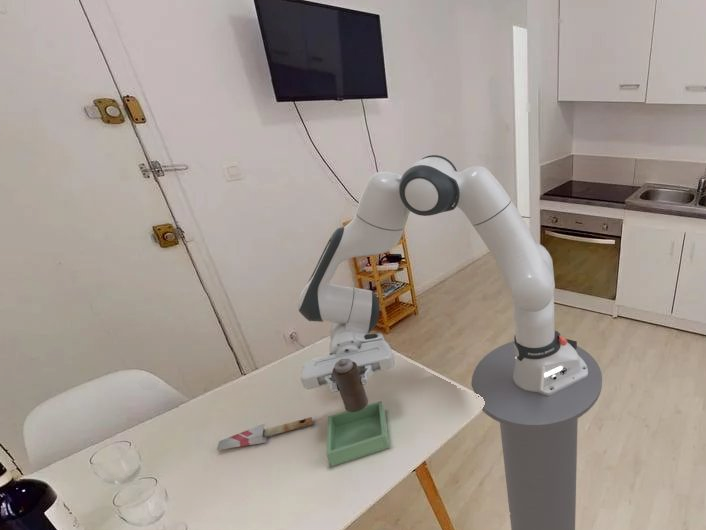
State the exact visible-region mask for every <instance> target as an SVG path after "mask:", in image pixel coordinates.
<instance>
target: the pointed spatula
mask: <svg viewBox="0 0 706 530" xmlns="http://www.w3.org/2000/svg"><path fill="white" fill-rule="evenodd" d="M313 423H314V421H313V417H312V416H309V417H306V418H303V419H298V420H295V421H292V422H287V423H283V424H280V425H275V426H272V427H268V428H265V423H263V424H260V425H257V426H254V427H252V428H250V429H247V430H245V431H242V432H239V433H236V434H235V435H234V434H233V435H232V436H229V437H227V438H224V439H221V440H218V442H217V446H216V451H219V450H226V449H231V448H239V447H245V446H252V445H258V444H266V443H267V440H268V437H271V436H274V435H277V434H281V433H285V432H288V431H292V430H296V429H300V428H303V427H308V426H312V425H313Z"/></svg>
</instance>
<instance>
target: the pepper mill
mask: <svg viewBox="0 0 706 530" xmlns="http://www.w3.org/2000/svg"><path fill="white" fill-rule="evenodd" d="M332 372H333V375H334V378H335V381H336V384H337V386H338V389H339V391H338V392H339V394H340V398H341V401H342V403H343V406H344V410H345V411H348V412H358V411H360V410H362V409H364V408H365V407H366V406H367V405H369V404H368V403H369V400H368V399H369V398H368V396H367V393H366V390H365V387H364V386H365V385H362V382H361V377H360V374H359V370H358V367H357V364H356V363H355V362H353V361H352V360H350V359H340V360H339V361H338V362H337V363H336V364H335V365H334V368H333V371H332Z"/></svg>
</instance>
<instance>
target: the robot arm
mask: <svg viewBox="0 0 706 530" xmlns="http://www.w3.org/2000/svg"><path fill="white" fill-rule="evenodd" d="M456 208H458V209H459V210H461V211H462V213H463V214H464V215H465V216H466V218H467V219H468V221H469V223H470V224H471V226H472V227H473V228H474V230H475V231H476V233H477V234H478V235H479V237H480V239H481V240H482V241H483V243H484V245H485V246H486V248H487V249H488V251H489V252H490V254H491V256H492V258H493V260H494V262H495V264H496V266H497V268H498V271H499V273H500V275H501V276H502V278H503V280H504V282H505V284H506V286H507V288H508V290H509V293H510V295H511V298H512V300H513V318H514V319H513V320H514V333H515V334H514V337H513V341H514V350H515V355H516V363H515V369H514V373H513V380H514V382H515V384H516V385H517V386H519V387H520V388H522V389H524V390H527V391H531V392H539V393H541V394H543V395H546V396H549V395H552V394H554V393H556V392H558V391H560V390H562V389H564V388H566V387H568V386H570V385H572V384H574V383H575V382H577V381H579V380H581V379H583V378H585V377H587V376H588V368H587V366H586V364H585V362H584V361H583V359H582V358H581V357H580V356H579V355H578V354H577V352H576V349H577V346H578V341H577V340H573V339H568V338H565V336H561V333H560V332H559V331H558V330H556V329H555V328H556V327H555V325H556V324H555V321H556V320H555V295H554V294H555V293H554V292H555V289H556V282H555V272H554V261H553V258H552V256H551V254H550V252H549V251H548V249H547V248H546V247H545V246H544V245H542V244H540V243H538V242H535V240H534V238H533V235H532V233H531V230H530V228H529V226H528V224H527V223H526V221H525V220H524V218H523V217H522V215H521V213H520V211H519V210H518V208H517V207H516V205H515V203H514V202H513V200H512V198H511V197H510V195H509V193H508V192H507V191H506V190H505V188H504V187H503V185H502V184H501V183H500V181H499V180H498V178H496V177H495V176H494V175H493V173H492V172H491V171H490V170H489V169H488V168H486V167H485V166H482V165H473V166H469V167H467V168H465V169H463V170H461V171H458V170H457V168H456V166H455V165H454V163H453V162H452V161H451V160H449V159H448V158H447V157H445V156H442V155H437V154H432V155H431V154H430V155H427V156H424V157H423V158H421V159H418V160H417V161H415V162H414V163H412V164H411V165H410V166H409V168H408V169H407V170H406V171H405V172H404V173H403V174H402V175H401V174H398V173H396V172H395V173H394V172H391V171H377V172H375V173H373V174H372V175H371V176H370V177H369V179H368V180H367V182H366V184H365V185H364V188H363V190H362V193H361V196H360V198H359V200H358V204H357V207H356V210H355V215H354V216H353V218H352V219H351V221H350V222H349V223H347V224H346V225H345V226H342V227H337V228H336V230H335V231H334V232H333V233H332V234H331V236H330V238H329V239H328V241H327V243H326V245H325V247H324V249H323V251H322V253H321V255H320V257H319V260H318V262H317V264H316V266H315V268H314V270H313V272H312V274H311V276H310V278H309V279H308V281H307V283H306V285H305V286H304V288H303V289H302V291H301V292H300V295H299V297H298V304H297V305H298V312H299V313H300V314H301V315H302V317H304V318H305V320H307V321H308V322H319V323H323V322H324V323H325V322H327V323H332V324H331V328H330V333H329V334H330V335H329V338H330V342H329V353H328V354H327V355H324V356H323V355H322V356H319V357H315V358H312V359H309V360H308V361H306V362H305V363H303V364H302V368H301V373H300V377H299V378H300V382H301V384H302V387H303V388H304V389H306V390H313V389H317V388H321V387H324V386H326V387H327V388H329V390H330V392H331V394H333V393H338V392H339V389H338V386H337V384H336V381H335V378H334V375H333V372H332V371H333V368H334V365H335V364H336V363H337V362H338V361H339V360H340V359H350V360H352V361H353V362H355V363H356V364H357V367H358V370H359V374H360V377H361V382H362V385H363V386H365V385H368V384H370V379H371V378H372V376H373V375H374V374H375V373H379V372H382V371H383V372H384V371H386V370H390V369H392V368H394V366H395V365H396V363H395V359H394V355H393V351H392V348H391V346H390V344H389V343H388V342H387V341H386V340H385V337H384V335H383V334H382V333H371V332H372V331H373V330H374V329H375V328H376V326H377V324H378V322H379V317H380V310H381V309H380V300H379V298H378V296H377V294H376V293H375V292H374V291H373V290H369V289H365V288H358V287H351V286H345V285H340V284H333V283H331V281H332V279H333V277H334V275H335V274H336V271H337V269H338V267H339V265H340V264H341V263H342V262H344V261H347V260H349V259H353V258H359V257H370V256H371V257H372V256H373V257H374V256H379V255H383V254H385V253H389V252H390V251H392V250H393V249H395V248H396V247H397V246H398V244H399V243H400V241H401V239H402V237H403V233H404V231H405V228H406V225H407V221H408V217H409V215H410V213H413V214H415V215H416V216H417V215H418V216H422V217H430V216H434V215H439V214H440V213H441V214H442V213H445V212H450V211H454V210H455V209H456Z"/></svg>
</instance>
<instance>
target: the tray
mask: <svg viewBox="0 0 706 530" xmlns="http://www.w3.org/2000/svg"><path fill="white" fill-rule="evenodd" d="M386 417H387V416H386V411H385V408H384V404H383V401H382V400H380V401H377V402H376V401H375V402H372V403H369V404H367V406H366V407H365V408H364V409H362V410H360V411H358V412H348V411H347V410H344V411H341V412H338V413H334V414H331V415H328V416H327V434H326V435H327V437H326V438H327V439H326V456H327V459H328V462H329V463H330V466H331V467H335V466H337V465H341V464H344V463H347V462H350V461H354V460H356V459H359V458H362V457H366V456H369V455H371V454H375V453H377V452H380V451H384V450H386V449H390V441H389V432H388V425H387V418H386Z"/></svg>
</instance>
